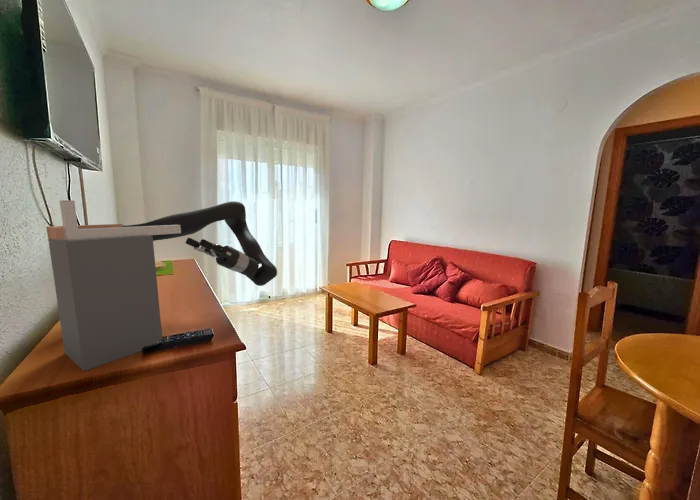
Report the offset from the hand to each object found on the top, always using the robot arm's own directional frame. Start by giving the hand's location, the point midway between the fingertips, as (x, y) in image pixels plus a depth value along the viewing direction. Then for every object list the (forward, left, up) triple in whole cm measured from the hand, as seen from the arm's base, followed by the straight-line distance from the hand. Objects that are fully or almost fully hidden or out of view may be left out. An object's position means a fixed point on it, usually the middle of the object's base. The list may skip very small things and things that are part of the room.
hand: (193, 240), depth 97 cm
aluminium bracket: (0, -18, +3) cm, 18 cm away
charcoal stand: (-4, -23, -29) cm, 37 cm away
